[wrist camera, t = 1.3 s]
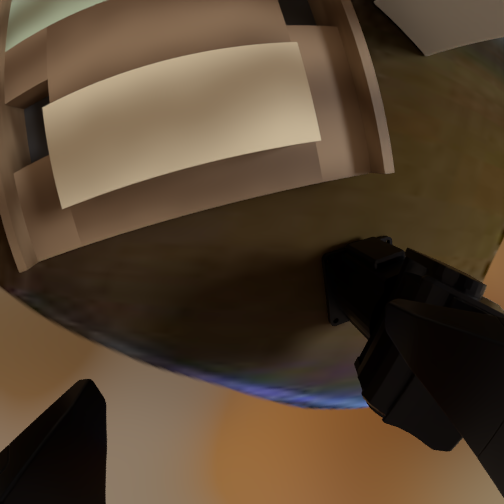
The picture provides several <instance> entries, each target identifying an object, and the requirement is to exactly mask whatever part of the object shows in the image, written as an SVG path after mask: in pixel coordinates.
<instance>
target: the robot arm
mask: <svg viewBox="0 0 504 504" xmlns="http://www.w3.org/2000/svg"><path fill="white" fill-rule="evenodd" d="M386 240H387V242H386ZM328 258H331V260H330V262H327V260H328ZM322 265H323V273H324V281H325V290H326V299H327V308H328V319H329V322H330V324H331V325H332V326H337V325H339V324H342V323H344V322H347V321H350V322H351V323H352V324H353V325H354V326H355V327H356V328H357V329H358V330H359V331H360V332H361V333H362V334H363V335H364V336H365V337H366V338H367V339H368V342H367V343H366V345H365V347H364V349H363V351H362V353H361V355H360V357H357V359H356V361H355V363H354V365H355V368H356V371H357V374H358V379H359V381H360V384H361V387H362V396H363V398H364V399H365V400H366V402H367V404H368V405H369V407H370V408H371V409H372V410H373V411H374V412H375V413H377V414H378V415H379V416H381V417H383V419H382V420H383V422H384V423H387V424H390V425H393V426H396V427H399V428H401V429H403V430H405V431H406V432H409V433H410V434H412V435H413V436H415V437H416V438H418V439H419V440H421V441H422V442H423V443H424V444H426V445H427V446H429V447H430V448H431V449H433V450H439V451H451V450H452V449H453V448H454V447H455V446H456V445H457V444H458V443H459V441H460V440H461V439H462V438H464V440H465V441H466V442H467V444H468V445H469V447H470V448H471V449H472V451H473V452H474V454H475V455H476V456H477V458H478V460H479V461H480V463H481V464H482V466H483V467H484V469H485V470H486V472H487V473H488V475H489V476H490V478H491V479H492V481H493V482H494V484H495V485H496V487H497V488H498V490H499V491H500V493H501V494H502V496H503V497H504V310H503V309H502V308H501V307H500V306H499V305H498V304H496V303H494V302H492V301H491V300H489V299H487V298H485V297H483V294H484V291H485V289H486V285H485V284H483V283H482V282H480V281H478V280H477V279H475V278H473V277H472V276H470V275H468V274H466V273H464V272H462V271H460V270H458V269H456V268H454V267H451V266H449V265H447V264H445V263H443V262H441V261H438V260H436V259H434V258H431V257H429V256H427V255H424V254H422V253H419V252H417V251H415V250H412V249H410V248H407V250H406V252H404V251H403V250H402V249H400V248H397V247H395V246H393V245H392V239H391V238H390V237H388V236H382V237H379V238H375V237H370V238H367V239H364V240H360V241H357V242H354V243H350V244H348V245H347V246H346V248H343V249H339V250H336V251H333V252H329V253H326V254H325V255H324V256H323V258H322ZM335 318H336V320H335V321H333V320H334V319H335ZM106 455H107V431H106V402H105V399H104V397H103V396H102V394H101V393H100V391H99V389H98V388H97V387H96V385H95V383H94V382H93V381H92V380H91V379H83V380H79V381H78V382H76V383H75V384H74V385H73V386H72V387H71V388H70V389H68V390H67V391H66V392H65V393H64V394H63V395H62V396H61V397H60V398H59V399H58V400H56V401H55V402H54V403H53V404H52V405H51V406H50V407H49V408H48V409H46V410H45V411H44V412H43V413H42V414H41V415H40V416H39V417H38V418H37V419H36V420H35V421H33V422H32V423H31V424H30V425H29V426H28V427H27V428H26V429H25V430H24V431H23V432H22V433H21V434H19V436H17V437H16V438H15V439H14V440H13V441H12V442H11V443H10V444H9V445H8V446H7V447H6V448H5V449H3V450H2V451H1V452H0V504H106V502H105V487H106V486H105V483H106Z"/></svg>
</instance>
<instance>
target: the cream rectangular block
mask: <svg viewBox="0 0 504 504" xmlns="http://www.w3.org/2000/svg"><path fill="white" fill-rule="evenodd" d="M42 109H43V118H44V125H45V132H46V139H47V145H48V150H49V156H50V161H51V166H52V170H53V175H54V179H55V184H56V188H57V192H58V196H59V199H60V203H61V207H62V209H64V208H67V207H70V206H72V205H75V204H78V203H81V202H83V201H86V200H89V199H92V198H95V197H97V196H100V195H103V194H106V193H109V192H112V191H114V190H117V189H120V188H123V187H126V186H129V185H133V184H136V183H139V182H142V181H145V180H149V179H152V178H155V177H159V176H162V175H165V174H169V173H172V172H176V171H180V170H183V169H187V168H191V167H195V166H199V165H202V164H206V163H211V162H215V161H219V160H223V159H227V158H232V157H236V156H241V155H246V154H250V153H255V152H260V151H265V150H270V149H276V148H281V147H287V146H293V145H298V144H303V143H309V142H315V141H321V136H320V131H319V127H318V122H317V117H316V113H315V109H314V104H313V100H312V96H311V92H310V88H309V84H308V80H307V76H306V72H305V68H304V65H303V61H302V57H301V54H300V50H299V47H298V43H297V42H283V43H267V44H255V45H246V46H238V47H230V48H223V49H217V50H211V51H205V52H200V53H195V54H190V55H186V56H181V57H177V58H173V59H169V60H165V61H161V62H157V63H153V64H150V65H146V66H143V67H140V68H137V69H133V70H130V71H127V72H124V73H121V74H118V75H116V76H113V77H110V78H107V79H105V80H102V81H99V82H97V83H94V84H92V85H89V86H87V87H85V88H82V89H80V90H78V91H75V92H73V93H71V94H69V95H67V96H64V97H62V98H60V99H58V100H56V101H54V102H52V103H50V104H48V105H46V106H44V107H42Z"/></svg>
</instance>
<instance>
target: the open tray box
mask: <svg viewBox="0 0 504 504" xmlns="http://www.w3.org/2000/svg"><path fill="white" fill-rule="evenodd" d="M283 42H297V43H298V47H299V50H300V54H301V57H302V61H303V65H304V68H305V72H306V76H307V80H308V84H309V88H310V92H311V96H312V100H313V104H314V109H315V113H316V117H317V122H318V127H319V131H320V136H321V141H315V142H309V143H303V144H298V145H293V146H287V147H281V148H276V149H270V150H265V151H260V152H255V153H250V154H246V155H241V156H236V157H232V158H227V159H223V160H219V161H215V162H211V163H206V164H202V165H199V166H195V167H191V168H187V169H183V170H180V171H176V172H172V173H169V174H165V175H162V176H159V177H155V178H152V179H149V180H145V181H142V182H139V183H136V184H133V185H129V186H126V187H123V188H120V189H117V190H114V191H112V192H109V193H106V194H103V195H100V196H97V197H95V198H92V199H89V200H86V201H83V202H81V203H78V204H75V205H72V206H70V207H67V208H64V209H62V207H61V203H60V199H59V196H58V192H57V188H56V184H55V179H54V175H53V170H52V166H51V161H50V156H49V150H48V145H47V139H46V132H45V125H44V118H43V109H42V107H44V106H46V105H48V104H50V103H52V102H54V101H56V100H58V99H60V98H62V97H64V96H67V95H69V94H71V93H73V92H75V91H78V90H80V89H82V88H85V87H87V86H89V85H92V84H94V83H97V82H99V81H102V80H105V79H107V78H110V77H113V76H116V75H118V74H121V73H124V72H127V71H130V70H133V69H137V68H140V67H143V66H146V65H150V64H153V63H157V62H161V61H165V60H169V59H173V58H177V57H181V56H186V55H190V54H195V53H200V52H205V51H211V50H217V49H223V48H230V47H238V46H246V45H255V44H267V43H283ZM368 173H379V174H388V173H394V165H393V158H392V151H391V145H390V139H389V133H388V127H387V122H386V117H385V112H384V108H383V103H382V99H381V94H380V90H379V86H378V82H377V78H376V75H375V71H374V67H373V64H372V60H371V57H370V54H369V50H368V47H367V44H366V41H365V38H364V35H363V32H362V29H361V26H360V24H359V21H358V18H357V16H356V13H355V10H354V8H353V5H352V3H351V0H0V215H1V218H2V222H3V226H4V229H5V232H6V236H7V239H8V242H9V245H10V248H11V251H12V254H13V257H14V260H15V262H16V265H17V268H18V270H19V273H21V272H23V271H26V270H28V269H30V268H31V267H32V266H34V265H35V264H36V263H38V262H40V261H42V260H45V259H48V258H51V257H53V256H56V255H59V254H62V253H65V252H68V251H71V250H73V249H76V248H79V247H82V246H85V245H88V244H91V243H94V242H97V241H100V240H104V239H107V238H110V237H113V236H116V235H119V234H122V233H126V232H129V231H132V230H136V229H139V228H142V227H146V226H149V225H152V224H156V223H159V222H163V221H166V220H170V219H173V218H177V217H180V216H184V215H188V214H191V213H195V212H199V211H202V210H206V209H210V208H214V207H218V206H221V205H225V204H229V203H233V202H237V201H241V200H245V199H249V198H254V197H258V196H262V195H266V194H271V193H275V192H279V191H284V190H288V189H293V188H297V187H302V186H307V185H311V184H316V183H321V182H326V181H331V180H336V179H341V178H346V177H351V176H357V175H362V174H368Z"/></svg>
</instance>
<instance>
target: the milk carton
mask: <svg viewBox="0 0 504 504" xmlns="http://www.w3.org/2000/svg"><path fill="white" fill-rule="evenodd" d="M374 4H375V5H376V6H377V7H379V8H380V9H381V10H382V11H383V12H384V13H385V14H386V15H387V16H388V17H389V18H390V19H391V20H392V21H393V22H394V23H395V24H396V25H397V26H398V27H399V28H400V29H401V30H402V31H403V32H404V33H405V34H406V35H407V36H408V37H409V38H410V39H411V40H412V41H413V42H414V43H415V45H416V46H417V47H418V48H419V49H420V50H421V51H422V53H423V54H424V55H425V56H429V55H432V54H435V53H439V52H442V51H445V50H449V49H453V48H456V47H460V46H464V45H468V44H472V43H476V42H481V41H485V40H490V39H495V38H501V37H504V0H375V1H374Z"/></svg>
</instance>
